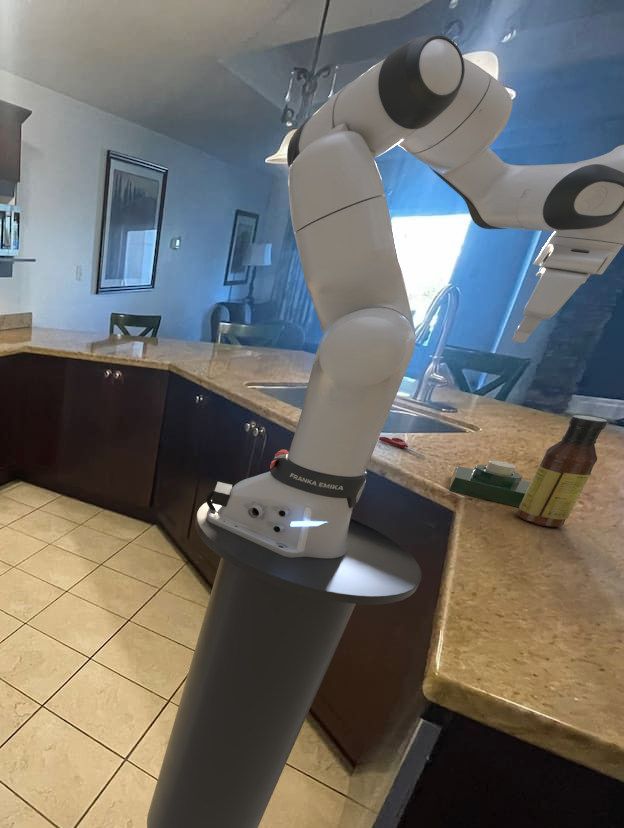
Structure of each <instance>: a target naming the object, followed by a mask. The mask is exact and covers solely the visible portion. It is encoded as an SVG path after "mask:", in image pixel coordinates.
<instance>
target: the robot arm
mask: <svg viewBox="0 0 624 828" xmlns="http://www.w3.org/2000/svg"><path fill="white" fill-rule="evenodd" d="M513 103H514V101H513V98H512V96H511V95H510V93H509V92H508V90H507V88H506V87H505V86H504V85H503V84H502V83H501V82H500V81H499V80H498V79H497V78H495V77H494V76H493V75H492V74H490V73H488V72H487V71H486V70H484V69H483V68H482V67H480V66H479V65H477V64H476V63H474V62H473V61H471V60H469V59H467V58H465V57H463V54H462V52H461V50H460V48H459V47H458V45H457V44H456V42H454V41H453V40H452V39H450V38H449V37H447V36H443V35H439V34H423V35H420V36H418V37H415V38H413V39H411V40H409V41H407V42H405V43H404V44H402V45H399V46H398V47H397V48H395V49H394V50H392V51H391V52H390V53H389V54H388V55H387V56H386V57H385V58H384V59H383V60H381V61H379V62H378V63H377V64H375V65H373V66H372V67H371V68H369V69H368V70H367V71H365V72H364V73H362V74H360V75H359V76H358V77H357V78H355V79H354V80H353V81H351V82H349V83H347V84H346V85H344V86H343V87H342V88H341V89H340V90H339V91H337V92H336V93H335V94H334V95H333V96H331V97H330V98H329V99H328V100H327V101H326V102H325V103H324V104H323V105H322V106H321V107H319V109H318V110H317V111H316V112H314V113H313V114H311V115H309V116H308V117H307V118H306V119H305V120H304V121H303V122H302V123H301V124H300V126H298V128H297V129H296V130H295V131H294V133H293V134H292V136H291V137H290V139H289V142H288V145H287V151H286V163H287V168H288V176H287V177H288V180H287V181H288V183H287V184H288V185H287V187H288V205H289V214H290V219H291V220H290V221H291V226H292V230H293V235H294V240H295V244H296V249H297V252H298V256H299V261H300V265H301V269H302V273H303V278H304V282H305V286H306V289H307V291H308V293H309V295H310V296H309V297H310V298H311V302H312V304H313V307H314V311H315V313H316V316H317V319H318V321H319V325H320V329H321V333H322V336H321V337H320V340H319V342H318V346H317V349H316V352H315V356H314V360H313V363H312V367H311V370H310V375H309V379H308V382H307V387H306V391H305V395H304V399H303V404H302V408H301V411H300V415H299V419H298V421H297V425H296V428H295V431H294V433H293V436H292V440H291V443H290V446H289V450H287V449H280V450H278V451H277V452H276V453H275V454H274V457H272V460H271V462H270V466H269V471H267V472H264V473H260V474H257V475H254V476H251V477H248V478H245V479H242V480H240V481H238V482H237V483H235V484H234V485H233V484H230V483H225V482H220V481H217V482H216V485H215V488H214V489H212V490H211V491H209V492H208V494H207V495H206V496H205V497H206V498H205V501H206V502H207V505H208V506H209V509H208V512H207V515H206V516H207V519H208V521H209V522H211V523H213V524H215V525H217V526H219V527H221V528H224V529H226V530H228V531H230V532H232V533H235V534H237V535H239V536H241V537H243V538H245V539H248V540H250V541H252V542H254V543H256V544H259V545H261V546H263V547H265V548H267V549H270V550H272V551H274V552H276V553H278V554H280V555H283V556H285V557H290V558H296V557H314V558H337V557H341V556H343V555H345V554H346V552H347V536H348V529H349V523H350V518H351V519H352V514H353V509H354V507H355V506H356V505H357V503H359V500H360V498H361V496H362V494H363V491H364V489H365V486H366V483H367V478H368V472H367V469H368V467H369V464H370V461H371V459H372V456H373V455H374V451H375V449H376V446H377V444H378V441H379V437H381V434H382V431H383V428H384V426H385V424H386V422H387V419H388V416H389V414H390V412H391V409H392V407H393V405H394V402H395V399H396V397H397V395H398V392H399V390H400V388H401V385H402V382H403V380H404V378H405V375H406V373H407V370H408V369H409V365H410V363H411V360H412V358H413V356H414V353H415V350H416V328H415V323H414V319H413V314H412V310H411V305H410V301H409V296H408V293H407V292H408V291H407V288H406V284H405V279H404V273H403V270H402V269H403V268H402V265H401V260H400V256H399V252H398V248H397V243H396V238H395V237H396V236H395V234H394V229H393V224H392V221H391V220H392V219H391V215H390V210H389V205H388V200H387V196H386V195H387V194H386V191H385V188H384V183H383V181H382V176H381V174H380V171H379V168H378V166H377V163H376V160H375V159H376V158H378V157H381V156H382V155H383V154H385V153H387V152H388V151H390V150H391V149H393V148H394V147H395V146H397V145H398V147H400V148H402V149H403V150H404V151H405V152H407V153H408V154H409V155H411V156H412V157H414V158H415V159H416V160H419V161H420V162H421V163H423V164H425V165H427V167H428V168H429V169H430V170H431V171H432V172H433V173H434V174H435V175H436V176H437V177H439V179H441V180H442V182H444V183H445V184H446V185H447V186H448V187H450V188H451V189H452V190H453V191H454V192H455V193H456V194H458V195H459V196H460V197H461V198H462V199H463V201H464V203H465V204H466V206H467V209H468V213H469V215H470V217H471V220H472V222H473V223H474V224H475V225H477V227H479V228H482V229H484V230H519V231H520V230H521V231H522V230H523V231H537V232H553V233H552V234H551V235H550V237H549V238H548V240H547V242H546V243H545V244H544V246H543V247H542V249H541V251H540V252H539V254H538V255H537V257H536V258H535V260H534V262H533V263H532V265H533V266H535V267H540V268H539V270H538V272H536V274H535V277H538V278H539V279H538V281H537V283H536V285H535V287H534V289H533V291H532V293H531V295H530V296H529V299H528V301H527V302H526V304H525V305H524V307H523V308H524V309H523V312H522V314H523V315H524V316H523V317H522V320H521V322H519V325H518V326H517V328H516V330H515V331H514V333H513V337H512V339H511V340H512V342H514V343H515V342H516V343H519V344H524V343H526V342H527V340H528V339H529V338H530V336H531V335H532V333H534V331H535V330H537V328H538V326H539V325H540V323H542V322H543V319H544V320H550V319H551V318H552V317H554V315H556V314H557V312H559V311H560V310H561V309H562V307H564V305H565V304H566V303H567V301H568V300H569V299H570V298H571V297H572V296H573V294H575V292H577V290H578V289H579V288H580V286H581V285H583V284H585V283H586V282H587V280H588V279H589V278H590V276H591V275H603V274H604V273H605V271H606V270H607V269H608V267H609V266H610V265H611V263H612V262H613V260H614V259H615V257H616V256H617V254H618V253H619V252H620V250H622V248H623V247H624V144H620V145H619V146H616V147H615V148H613V150H611V151H609V152H606V153H605V154H602V155H599V156H596V157H592V158H589V159H586V160H581V161H577V162H571V163H570V162H569V163H556V164H554V163H553V164H534V165H533V164H510V163H507V162H505V161H503V160H502V159H501V158H500V157H499V156H498V155H497V154H496V153H495V152H494V151H493V150H492V149H491V148H490V147H491V146H492V144H493V143H494V142H496V140H497V139H498V137H500V135H501V134H502V132H503V131H504V129H505V128H506V126H507V124H508V122H509V120H510V117H511V115H512V111H513ZM211 500H212V501H211ZM206 502H205V503H206Z"/></svg>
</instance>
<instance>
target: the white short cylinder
mask: <svg viewBox="0 0 624 828" xmlns="http://www.w3.org/2000/svg"><path fill="white" fill-rule="evenodd" d="M486 465H487V466H486V468H485V470H487V471H490V472H493V473H497V474H501V475H508V476H511V475H512V474H513V472H514V471H515V470H516V468H517V466H516V465H515V464H512V463H509V462H505V461H501V460H494V459H492V460H488V462H487V464H486Z"/></svg>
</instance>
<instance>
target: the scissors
mask: <svg viewBox="0 0 624 828" xmlns="http://www.w3.org/2000/svg"><path fill="white" fill-rule="evenodd" d="M378 441H381V442H383V443H386V444H389V445H392V446H396V447H398V448H401V449H405V450H407V451H410V452H412V453H414V454H416V455H418V456H420V457H424V455H423V454H422V453H420V452H418V451H416V450H414V449H412V448H410V447H409V445H408V444H407V442H406V441H405V440H404V439H402V438H400V437H392V438H390V437H387V436H379V439H378Z"/></svg>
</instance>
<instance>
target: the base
mask: <svg viewBox="0 0 624 828" xmlns="http://www.w3.org/2000/svg"><path fill="white" fill-rule="evenodd" d="M486 466H487V464H476V465H475V467H474V469H473V468H469V467H464V466H460V465H456V466H455V468H454V471H453V473H452V475H451V477H450V482H449V488H448V490H449V491H450V492H455V493H460V494H463V495H466V496H471V497H475V498H479V499H482V500H487V501H492V502H496V503H499V504H503V505H506V506H507V505H508V506H512V507H516V508H519V506H520V504H521V502H522V500H523V498H524V496H525V494H526V492H527V489H528V487H529V485H530V483H531V481H529V480H523V474H521V473H519V472H517V471H515V470H514V472H513V474H512V475H511V476H508V475H501V474H497V473H493V472H490V471H487V470H485V468H486Z"/></svg>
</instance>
